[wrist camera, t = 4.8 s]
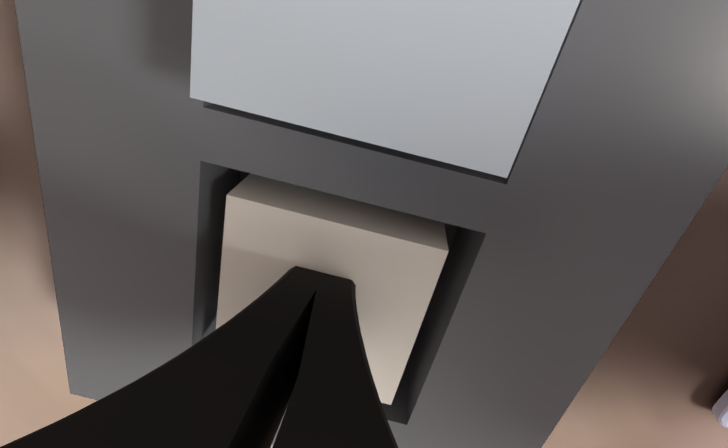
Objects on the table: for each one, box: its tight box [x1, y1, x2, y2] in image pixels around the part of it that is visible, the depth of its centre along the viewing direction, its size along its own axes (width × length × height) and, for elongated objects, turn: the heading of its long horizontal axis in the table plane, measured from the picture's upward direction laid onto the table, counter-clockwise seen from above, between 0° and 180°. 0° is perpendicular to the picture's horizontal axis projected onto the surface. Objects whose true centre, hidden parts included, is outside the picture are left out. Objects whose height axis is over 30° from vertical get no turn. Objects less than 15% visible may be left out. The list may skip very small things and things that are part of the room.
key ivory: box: [216, 173, 449, 405], centre depth 10 cm, size 4×4×2 cm
